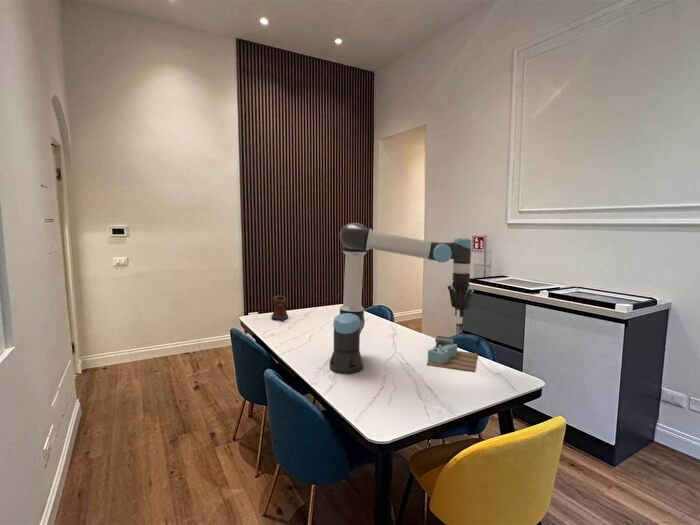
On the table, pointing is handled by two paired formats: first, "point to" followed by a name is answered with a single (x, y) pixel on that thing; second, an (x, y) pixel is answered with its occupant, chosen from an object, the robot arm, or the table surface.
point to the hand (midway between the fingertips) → (459, 323)
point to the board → (459, 362)
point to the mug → (279, 308)
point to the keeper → (443, 341)
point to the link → (442, 354)
